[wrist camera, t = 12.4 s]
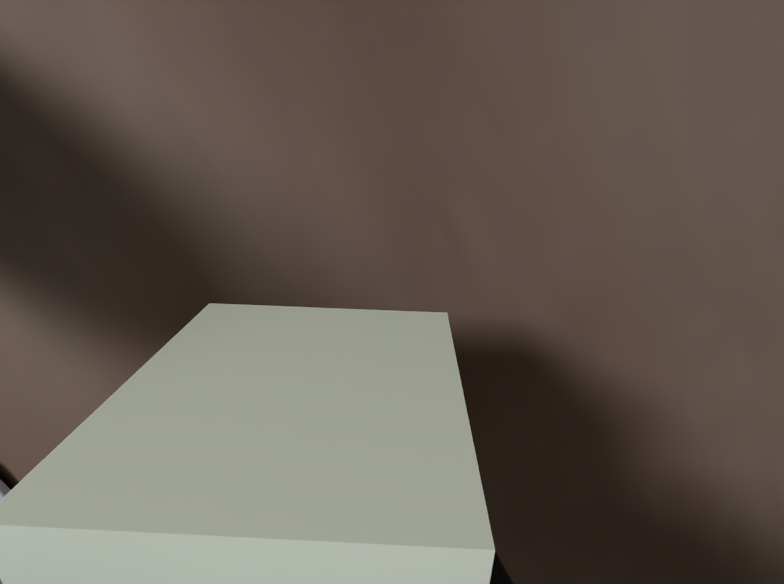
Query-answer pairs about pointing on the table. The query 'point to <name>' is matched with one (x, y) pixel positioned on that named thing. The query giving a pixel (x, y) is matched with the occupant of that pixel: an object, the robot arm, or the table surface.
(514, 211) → the table surface
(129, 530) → the mint green block
